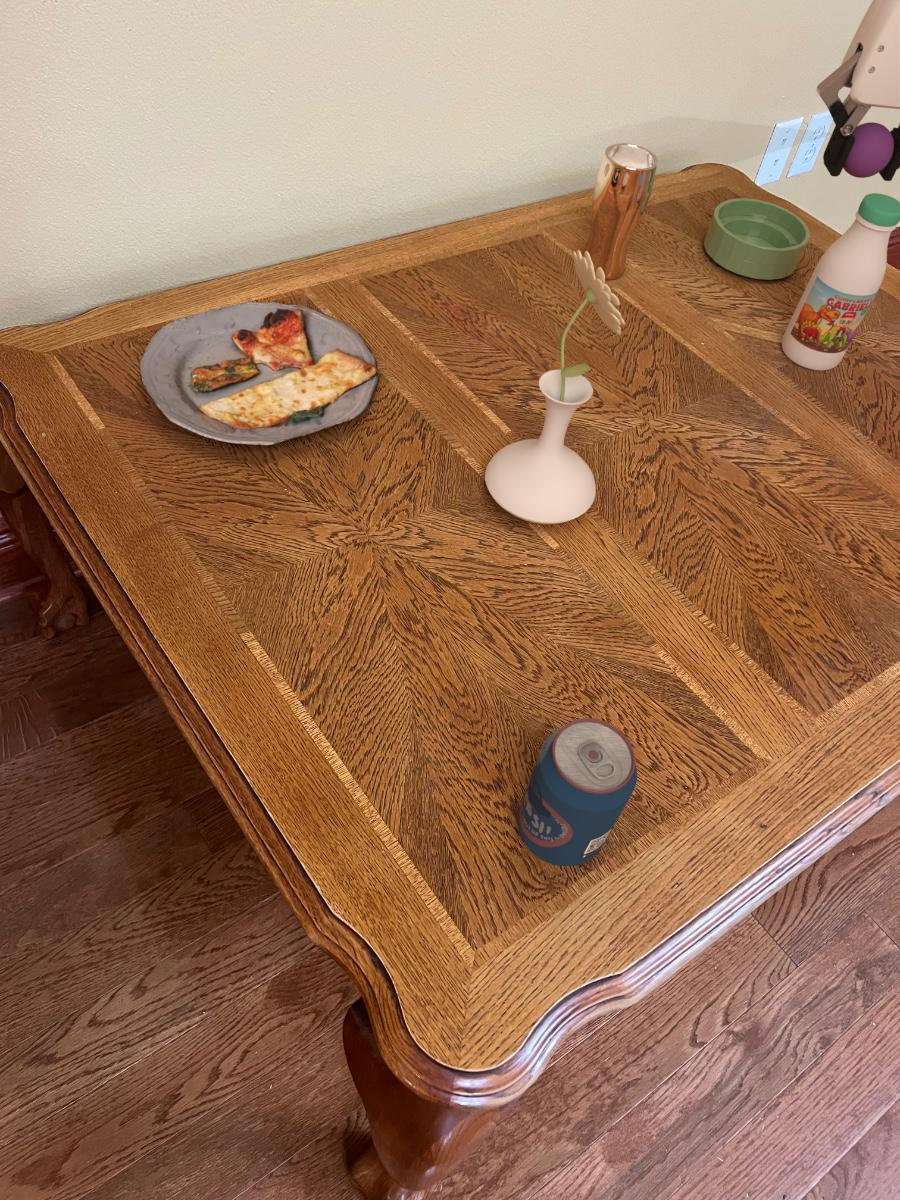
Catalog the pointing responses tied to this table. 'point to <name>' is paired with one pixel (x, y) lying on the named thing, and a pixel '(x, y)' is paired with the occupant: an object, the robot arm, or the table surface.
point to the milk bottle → (842, 287)
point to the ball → (869, 150)
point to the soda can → (577, 791)
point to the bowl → (756, 238)
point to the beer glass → (619, 205)
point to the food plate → (259, 372)
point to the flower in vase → (555, 430)
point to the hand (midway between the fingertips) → (857, 170)
